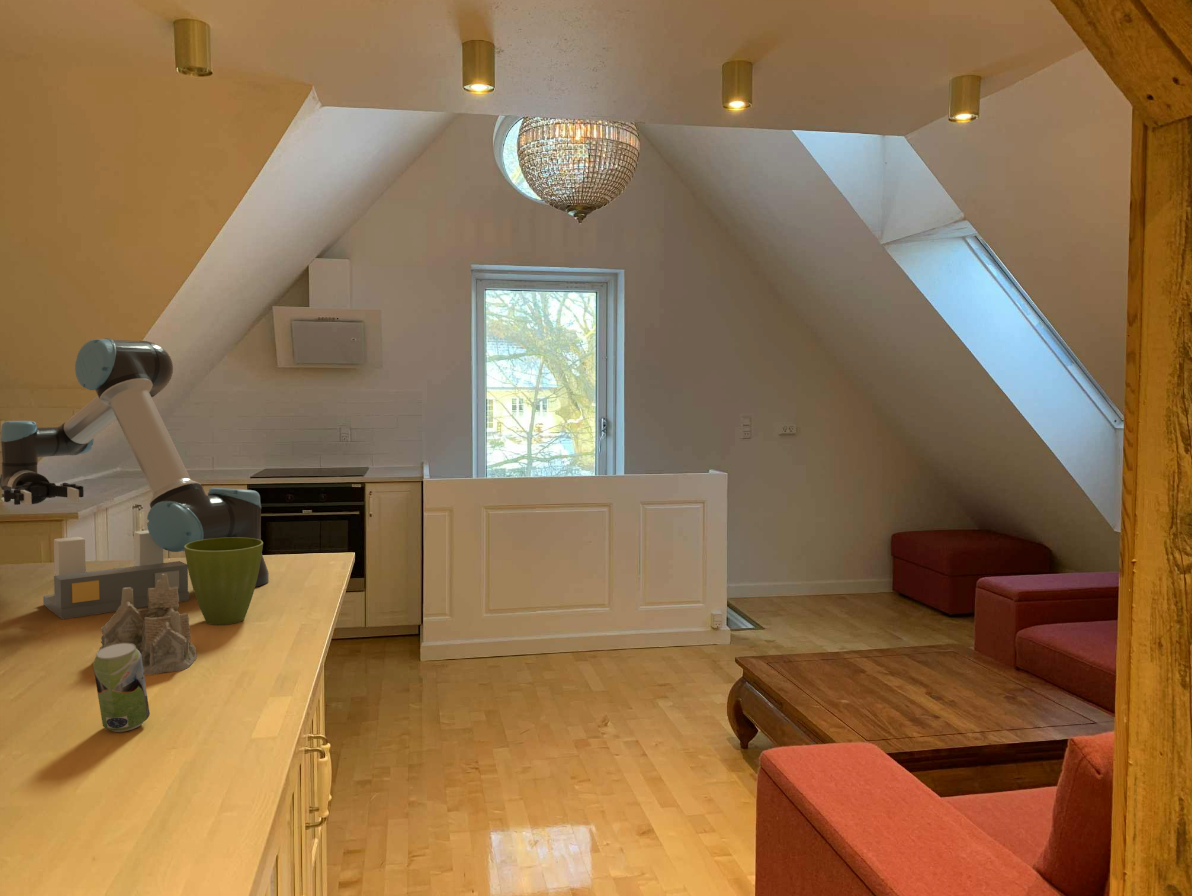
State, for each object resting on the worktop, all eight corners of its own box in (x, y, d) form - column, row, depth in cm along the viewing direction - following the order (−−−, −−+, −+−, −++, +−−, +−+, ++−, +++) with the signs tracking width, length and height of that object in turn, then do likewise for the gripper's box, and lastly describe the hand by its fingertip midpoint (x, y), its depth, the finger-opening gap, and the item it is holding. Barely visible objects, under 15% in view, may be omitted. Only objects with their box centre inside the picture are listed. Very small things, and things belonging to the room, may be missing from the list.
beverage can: (158, 719, 131) (157, 639, 130) (127, 739, 124) (126, 654, 123) (118, 717, 132) (116, 637, 131) (84, 736, 125) (83, 652, 124)
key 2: (134, 583, 205) (133, 531, 204) (157, 580, 209) (157, 529, 208) (140, 586, 202) (139, 534, 202) (163, 583, 206) (163, 531, 205)
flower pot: (235, 633, 176) (235, 552, 175) (168, 627, 179) (167, 548, 178) (277, 614, 191) (277, 539, 189) (214, 608, 194) (214, 535, 192)
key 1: (55, 593, 194) (53, 539, 193) (80, 590, 198) (79, 536, 197) (59, 597, 191) (58, 541, 191) (86, 593, 195) (84, 539, 194)
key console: (43, 604, 194) (42, 568, 193) (165, 588, 211) (165, 554, 210) (61, 619, 183) (61, 580, 182) (188, 600, 200) (188, 565, 200)
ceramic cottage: (99, 652, 162) (101, 571, 160) (199, 647, 168) (201, 569, 166) (84, 685, 148) (86, 596, 146) (193, 679, 153) (196, 594, 152)
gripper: (79, 499, 226) (106, 510, 210) (-23, 506, 211) (-3, 518, 195) (78, 469, 225) (105, 478, 209) (-24, 474, 210) (-4, 483, 194)
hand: (53, 497), depth 202 cm, fingers open, 9 cm apart
